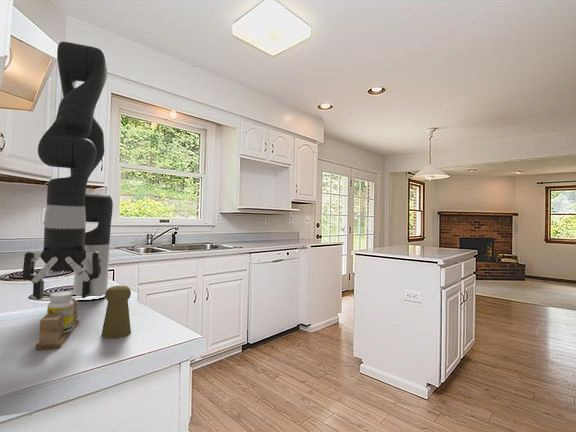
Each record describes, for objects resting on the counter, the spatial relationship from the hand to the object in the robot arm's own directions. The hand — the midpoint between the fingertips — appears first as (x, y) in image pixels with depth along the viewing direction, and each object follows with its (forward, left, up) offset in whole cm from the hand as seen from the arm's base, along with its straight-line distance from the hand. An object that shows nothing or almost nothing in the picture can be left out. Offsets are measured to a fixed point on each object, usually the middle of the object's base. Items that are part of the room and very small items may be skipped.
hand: (62, 297), depth 71 cm
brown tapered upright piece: (+2, +11, -9) cm, 14 cm away
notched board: (0, 0, -8) cm, 8 cm away
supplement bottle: (0, 0, -8) cm, 8 cm away
